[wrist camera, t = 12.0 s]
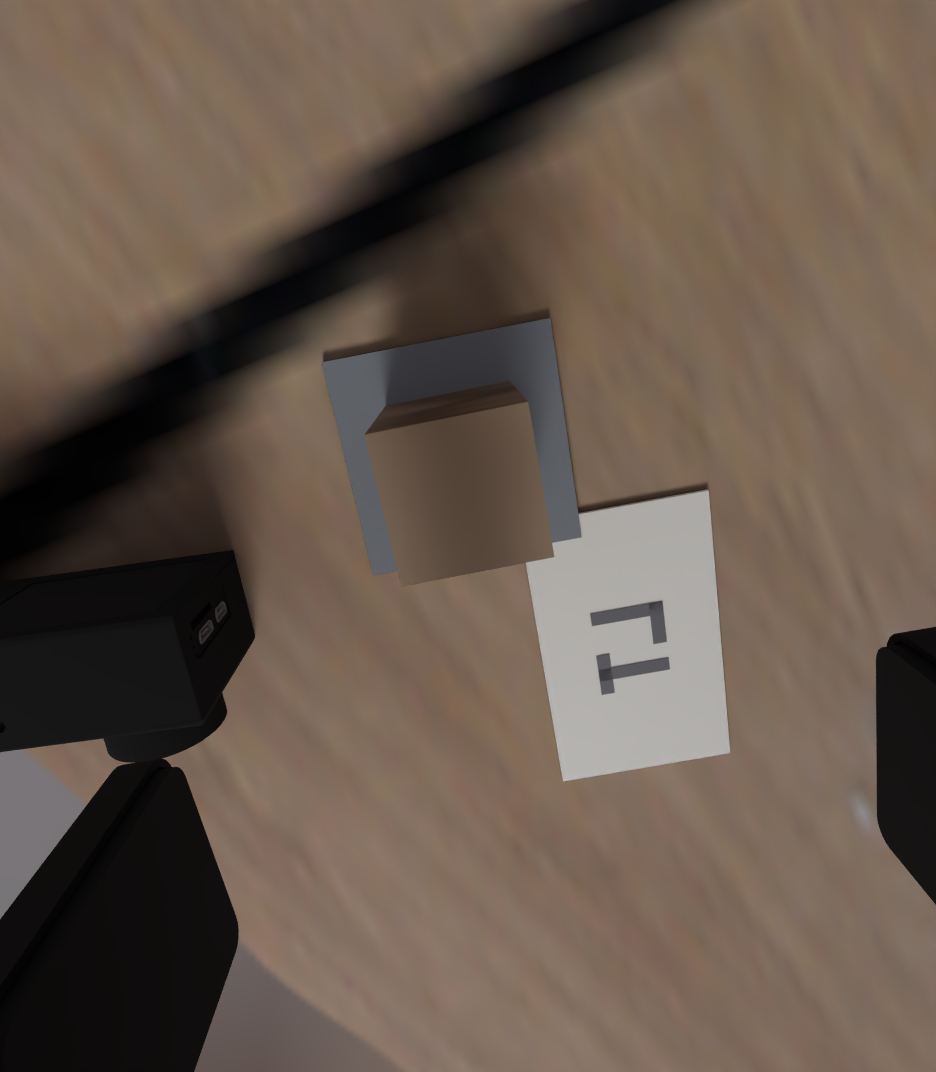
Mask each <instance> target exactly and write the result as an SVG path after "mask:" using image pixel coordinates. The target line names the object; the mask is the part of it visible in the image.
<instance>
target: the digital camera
mask: <svg viewBox="0 0 936 1072" xmlns="http://www.w3.org/2000/svg"><path fill="white" fill-rule="evenodd" d="M233 558H234V559H233ZM232 559H233V560H232ZM231 560H232V561H231ZM230 561H231V562H230ZM226 566H227V567H226ZM225 567H226V568H225ZM224 568H225V569H224ZM223 569H224V570H223ZM222 570H223V571H222ZM217 576H218V577H217ZM216 577H217V578H216ZM215 578H216V579H215ZM209 585H210V586H209ZM208 586H209V587H208ZM254 638H255V634H254V631H253V627H252V623H251V619H250V615H249V611H248V607H247V603H246V599H245V595H244V591H243V587H242V583H241V579H240V575H239V571H238V567H237V563H236V559H235V555H234V552H233V550H230V551H223V552H216V553H209V554H201V555H194V556H187V557H180V558H172V559H165V560H158V561H151V562H144V563H136V564H129V565H122V566H115V567H107V568H100V569H93V570H86V571H78V572H71V573H64V574H57V575H49V576H42V577H35V578H28V579H20V580H13V581H6V582H0V752H4V751H12V750H19V749H27V748H35V747H42V746H50V745H57V744H65V743H72V742H80V741H87V740H95V739H102V738H103V739H104V742H105V745H106V748H107V751H108V754H109V755H110V756H111V757H112V758H114V759H115V760H118V761H122V762H143V761H148V760H154V759H160V758H165V757H168V756H171V755H174V754H176V753H179V752H181V751H184V750H186V749H188V748H190V747H192V746H194V745H196V744H197V743H199V742H201V741H202V740H204V739H205V738H207V737H208V736H209V735H211V734H212V733H213V732H214V731H215V730H216V729H217V728H218V727H219V726H220V725H221V724H222V722H223V721H224V719H225V717H226V715H227V708H226V704H225V701H224V697H223V694H222V692H223V690H224V688H225V687H226V685H227V683H228V682H229V680H230V679H231V677H232V675H233V674H234V672H235V670H236V669H237V667H238V665H239V664H240V662H241V660H242V659H243V657H244V656H245V654H246V652H247V651H248V649H249V647H250V646H251V644H252V642H253V640H254Z"/></svg>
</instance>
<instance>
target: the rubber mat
mask: <svg viewBox="0 0 936 1072" xmlns="http://www.w3.org/2000/svg"><path fill="white" fill-rule="evenodd" d="M322 366H323V370H324V375H325V379H326V383H327V387H328V391H329V395H330V399H331V403H332V407H333V412H334V416H335V420H336V424H337V428H338V432H339V436H340V440H341V444H342V448H343V453H344V457H345V461H346V465H347V469H348V473H349V477H350V481H351V485H352V490H353V494H354V498H355V502H356V506H357V510H358V514H359V518H360V522H361V526H362V531H363V535H364V539H365V543H366V547H367V551H368V555H369V559H370V563H371V568H372V572H373V575H379V574H384V573H390V572H395V571H397V567H396V563H395V559H394V554H393V550H392V546H391V542H390V538H389V534H388V530H387V526H386V522H385V518H384V513H383V509H382V505H381V501H380V497H379V493H378V489H377V485H376V481H375V477H374V472H373V468H372V464H371V460H370V456H369V452H368V448H367V444H366V440H365V436H364V434H365V433H366V432H367V430H368V429H369V428H370V426H371V425H372V424H373V422H374V421H375V419H376V418H377V417H378V415H379V414H380V413H381V411H382V410H383V409H384V407H385V406H387V405H392V404H397V403H402V402H407V401H412V400H417V399H422V398H426V397H431V396H436V395H441V394H446V393H451V392H456V391H461V390H466V389H471V388H476V387H481V386H486V385H491V384H495V383H500V382H505V381H510V382H511V383H512V384H513V385H514V386H515V387H516V388H517V390H518V391H519V392H520V393H521V394H522V395H523V396H524V397H525V399H526V400H527V401H528V403H529V409H530V415H531V421H532V427H533V433H534V439H535V445H536V451H537V456H538V462H539V468H540V474H541V480H542V486H543V492H544V498H545V504H546V510H547V516H548V522H549V528H550V534H551V539H552V543H554V542H559V541H565V540H570V539H576V538H581V537H582V536H581V529H580V522H579V515H578V508H577V501H576V494H575V487H574V480H573V473H572V466H571V459H570V452H569V445H568V438H567V430H566V423H565V416H564V409H563V402H562V395H561V388H560V381H559V374H558V367H557V360H556V353H555V346H554V339H553V332H552V325H551V318H547V319H542V320H536V321H531V322H526V323H521V324H516V325H511V326H505V327H500V328H495V329H490V330H485V331H480V332H475V333H469V334H464V335H459V336H454V337H449V338H444V339H439V340H433V341H428V342H423V343H418V344H413V345H408V346H402V347H397V348H392V349H387V350H382V351H377V352H372V353H366V354H361V355H356V356H351V357H346V358H341V359H336V360H330V361H325V362H322Z"/></svg>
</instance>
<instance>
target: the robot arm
mask: <svg viewBox="0 0 936 1072" xmlns="http://www.w3.org/2000/svg"><path fill="white" fill-rule="evenodd" d="M876 729H877V819H878V824H879V828H880V831H881V833H882V836H883V838H884V840H885V842H886V843H887V845H888V846H889V848H890V849H891V850H892V852H893V853H894V854H895V855H896V856H897V858H898V859H899V860H900V861H901V863H902V864H903V865H904V866H905V867H906V869H907V870H908V871H909V872H910V874H911V875H912V876H913V877H914V878H915V880H916V881H917V882H918V883H919V885H920V886H921V887H922V888H923V890H924V891H925V892H926V893H927V894H928V896H929V897H930V898H931V899H932V901H933V902H934V903H935V904H936V627H932V628H926V629H920V630H914V631H909V632H903V633H897V634H893V635H892V636H891V637H890V638H889V640H888V643H887V647H882V648H880V649H879V650H878V653H877V656H876ZM238 931H239V930H238V922H237V918H236V915H235V912H234V909H233V907H232V904H231V901H230V898H229V896H228V893H227V890H226V887H225V885H224V882H223V879H222V876H221V873H220V871H219V868H218V865H217V862H216V860H215V857H214V854H213V851H212V848H211V846H210V843H209V840H208V837H207V835H206V832H205V829H204V826H203V824H202V821H201V818H200V815H199V812H198V810H197V807H196V804H195V801H194V799H193V796H192V793H191V790H190V787H189V785H188V782H187V779H186V776H185V774H184V772H183V771H182V770H181V769H180V768H178V767H171V765H170V764H169V763H168V762H167V761H166V760H164V759H161V758H160V759H154V760H148V761H143V762H137V763H131V764H125V765H121V766H118V767H117V768H116V769H114V770H113V771H112V773H111V774H110V775H109V777H108V778H107V779H106V781H105V782H104V783H103V785H102V786H101V787H100V789H99V790H98V791H97V793H96V794H95V795H94V796H93V798H92V799H91V800H90V802H89V803H88V804H87V806H86V807H85V808H84V810H83V811H82V812H81V814H80V815H79V816H78V818H77V819H76V820H75V822H74V823H73V824H72V826H71V827H70V828H69V829H68V831H67V832H66V833H65V835H64V836H63V837H62V839H61V840H60V841H59V843H58V844H57V846H56V847H55V848H54V849H53V851H52V852H51V853H50V854H49V856H48V857H47V858H46V860H45V861H44V862H43V864H42V865H41V867H40V868H39V869H38V870H37V872H36V873H35V874H34V876H33V877H32V878H31V880H30V881H29V882H28V884H27V885H26V886H25V887H24V889H23V890H22V891H21V893H20V894H19V895H18V897H17V898H16V899H15V901H14V902H13V904H12V905H11V906H10V907H9V909H8V910H7V911H6V912H5V914H4V915H3V917H2V918H1V919H0V1072H194V1070H195V1067H196V1065H197V1062H198V1059H199V1056H200V1053H201V1050H202V1047H203V1044H204V1041H205V1039H206V1036H207V1033H208V1030H209V1027H210V1024H211V1022H212V1019H213V1016H214V1013H215V1010H216V1007H217V1004H218V1001H219V999H220V995H221V993H222V990H223V987H224V984H225V981H226V979H227V976H228V973H229V970H230V967H231V964H232V961H233V958H234V956H235V953H236V949H237V945H238Z"/></svg>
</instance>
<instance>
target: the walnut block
mask: <svg viewBox="0 0 936 1072" xmlns="http://www.w3.org/2000/svg"><path fill="white" fill-rule="evenodd" d="M364 436H365V440H366V444H367V448H368V452H369V456H370V460H371V464H372V468H373V472H374V477H375V481H376V485H377V489H378V493H379V497H380V501H381V505H382V509H383V513H384V518H385V522H386V526H387V530H388V534H389V538H390V542H391V546H392V550H393V554H394V559H395V563H396V567H397V571H398V575H399V579H400V583H401V587H402V586H407V585H412V584H418V583H423V582H428V581H433V580H438V579H444V578H449V577H454V576H459V575H464V574H470V573H475V572H480V571H485V570H490V569H495V568H501V567H506V566H511V565H516V564H521V563H527V562H532V561H537V560H542V559H547V558H553V557H554V551H553V545H552V539H551V534H550V528H549V522H548V516H547V510H546V504H545V498H544V492H543V486H542V480H541V474H540V468H539V462H538V456H537V451H536V445H535V439H534V433H533V427H532V421H531V415H530V409H529V403H528V401H527V400H526V399H525V397H524V396H523V395H522V394H521V393H520V392H519V391H518V390H517V388H516V387H515V386H514V385H513V384H512V383H511V382H510V381H505V382H500V383H495V384H491V385H486V386H481V387H476V388H471V389H466V390H461V391H456V392H451V393H446V394H441V395H436V396H431V397H426V398H422V399H417V400H412V401H407V402H402V403H397V404H392V405H387V406H385V407H384V409H383V410H382V411H381V413H380V414H379V415H378V417H377V418H376V419H375V421H374V422H373V424H372V425H371V426H370V428H369V429H368V430H367V432H366V433H365V434H364Z"/></svg>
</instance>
